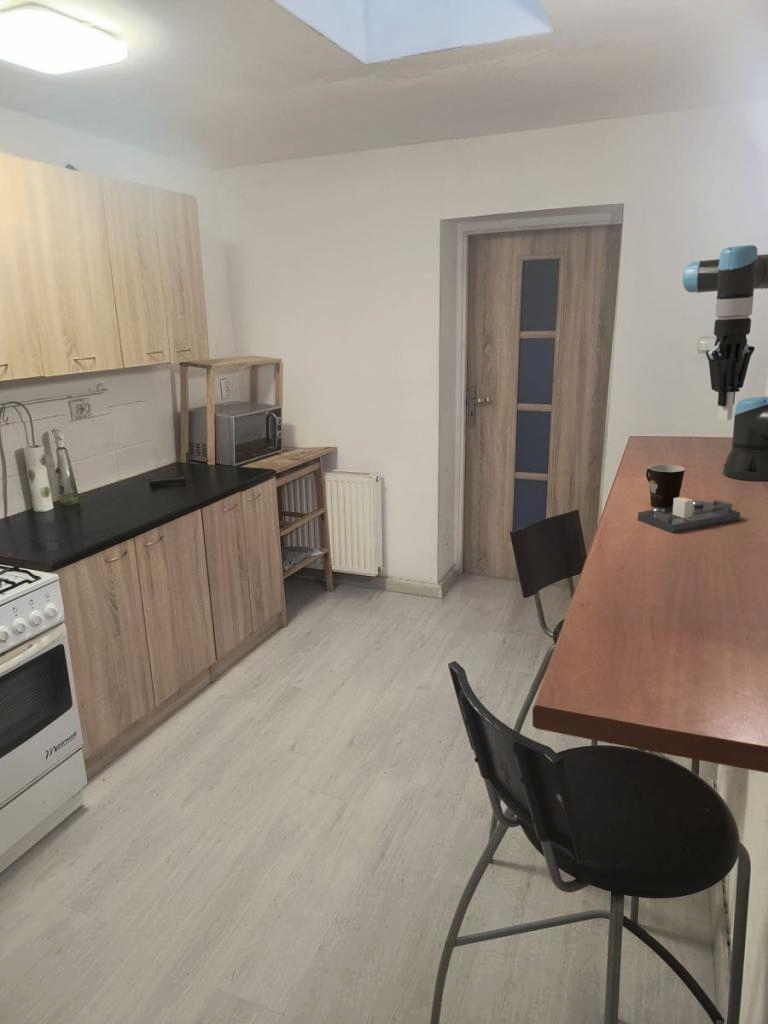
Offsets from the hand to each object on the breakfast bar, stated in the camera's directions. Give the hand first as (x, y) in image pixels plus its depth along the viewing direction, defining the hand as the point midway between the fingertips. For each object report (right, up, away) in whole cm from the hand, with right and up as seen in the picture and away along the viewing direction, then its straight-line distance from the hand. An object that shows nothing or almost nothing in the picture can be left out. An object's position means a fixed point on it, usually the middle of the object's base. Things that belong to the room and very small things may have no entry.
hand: (724, 419), depth 161 cm
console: (-9, -24, 0) cm, 26 cm away
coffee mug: (-9, -21, +15) cm, 27 cm away
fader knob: (-11, -23, -3) cm, 26 cm away
